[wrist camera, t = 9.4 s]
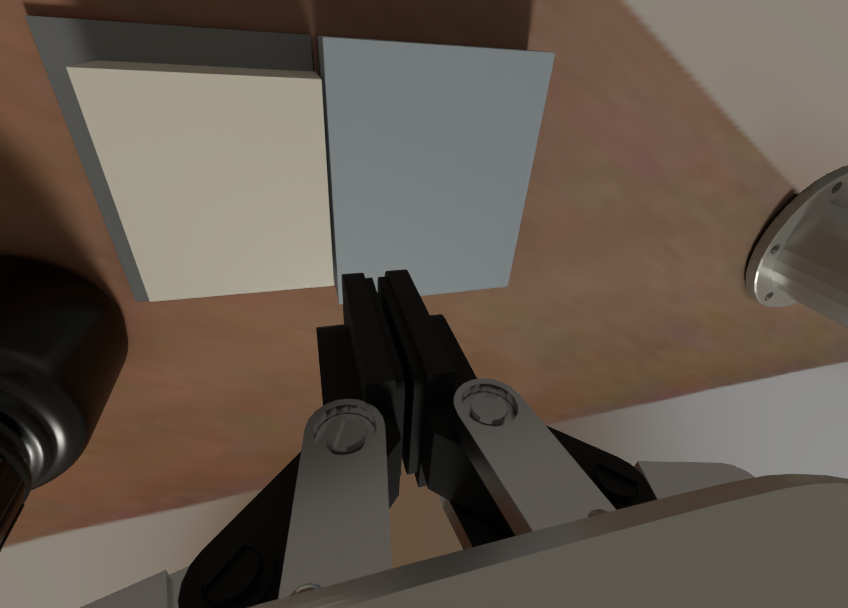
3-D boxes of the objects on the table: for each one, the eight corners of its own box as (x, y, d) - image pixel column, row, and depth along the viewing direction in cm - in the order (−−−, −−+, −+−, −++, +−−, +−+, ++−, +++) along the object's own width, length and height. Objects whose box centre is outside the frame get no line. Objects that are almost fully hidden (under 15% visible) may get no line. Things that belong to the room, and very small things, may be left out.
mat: (310, 35, 17) (310, 35, 17) (328, 281, 24) (329, 284, 24) (28, 15, 15) (24, 15, 14) (137, 298, 21) (135, 301, 21)
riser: (527, 50, 20) (555, 52, 18) (490, 267, 27) (507, 286, 25) (317, 35, 17) (322, 37, 15) (334, 281, 24) (339, 304, 22)
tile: (315, 72, 18) (321, 79, 15) (328, 257, 23) (334, 285, 20) (98, 60, 15) (66, 67, 13) (164, 269, 20) (149, 301, 18)
